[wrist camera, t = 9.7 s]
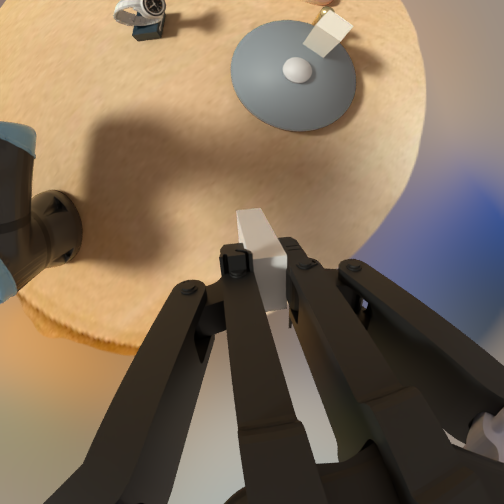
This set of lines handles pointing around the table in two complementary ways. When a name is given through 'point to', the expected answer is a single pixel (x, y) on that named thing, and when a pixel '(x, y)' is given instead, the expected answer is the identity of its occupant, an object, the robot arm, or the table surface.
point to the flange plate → (295, 73)
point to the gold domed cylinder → (322, 14)
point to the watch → (142, 17)
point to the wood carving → (318, 2)
